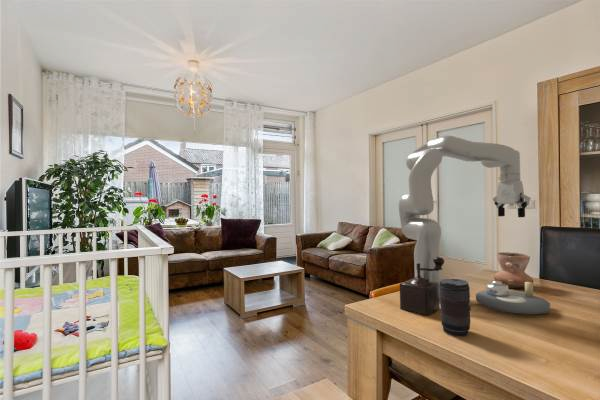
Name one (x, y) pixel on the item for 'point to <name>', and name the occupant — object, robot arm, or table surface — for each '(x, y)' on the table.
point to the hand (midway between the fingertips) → (511, 216)
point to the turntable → (515, 301)
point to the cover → (497, 289)
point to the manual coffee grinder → (421, 292)
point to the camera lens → (455, 306)
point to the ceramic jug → (513, 269)
